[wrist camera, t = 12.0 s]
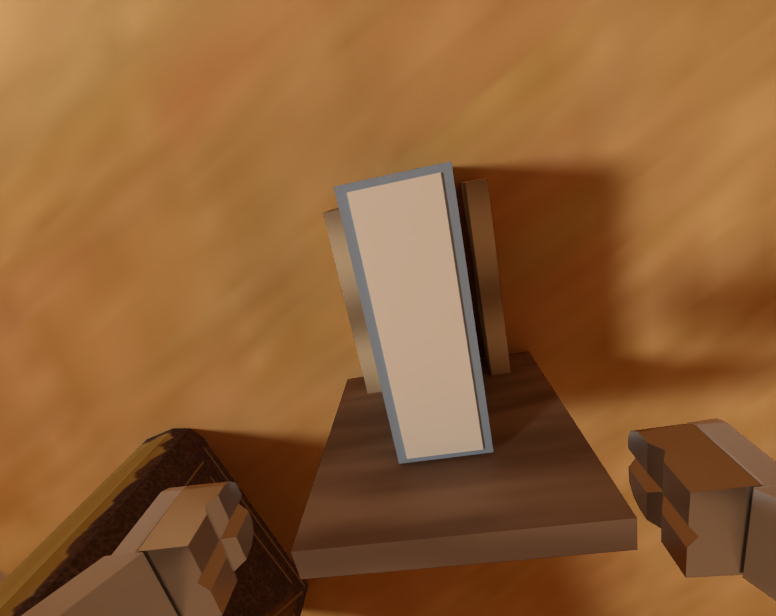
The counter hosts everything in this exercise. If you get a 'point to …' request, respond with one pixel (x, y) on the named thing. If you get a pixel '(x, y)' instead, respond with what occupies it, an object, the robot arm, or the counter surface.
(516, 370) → the wooden display stand
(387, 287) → the box book
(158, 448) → the book
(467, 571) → the counter surface
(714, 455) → the robot arm
